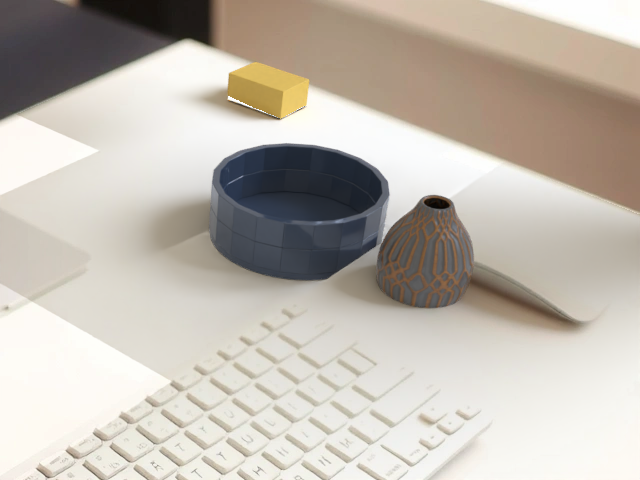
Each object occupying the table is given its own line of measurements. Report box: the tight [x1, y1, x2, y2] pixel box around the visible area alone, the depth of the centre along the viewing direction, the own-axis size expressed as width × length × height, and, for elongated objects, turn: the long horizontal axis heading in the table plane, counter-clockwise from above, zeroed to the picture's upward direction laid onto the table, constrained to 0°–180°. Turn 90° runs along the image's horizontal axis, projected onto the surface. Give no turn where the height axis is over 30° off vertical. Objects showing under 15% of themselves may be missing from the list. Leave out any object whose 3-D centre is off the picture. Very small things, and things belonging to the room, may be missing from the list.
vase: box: [375, 194, 475, 309], centre depth 80 cm, size 7×7×9 cm
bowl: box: [208, 142, 391, 281], centre depth 89 cm, size 14×14×5 cm
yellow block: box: [226, 61, 310, 120], centre depth 112 cm, size 4×7×3 cm, turn 46°
